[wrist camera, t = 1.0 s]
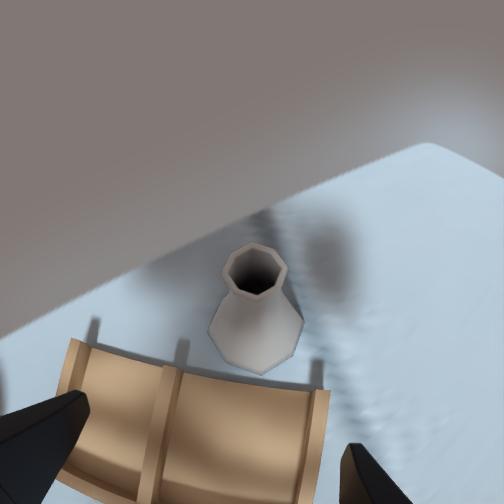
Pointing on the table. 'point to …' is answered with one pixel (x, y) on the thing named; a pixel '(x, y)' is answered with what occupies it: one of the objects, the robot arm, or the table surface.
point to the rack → (189, 435)
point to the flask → (255, 311)
